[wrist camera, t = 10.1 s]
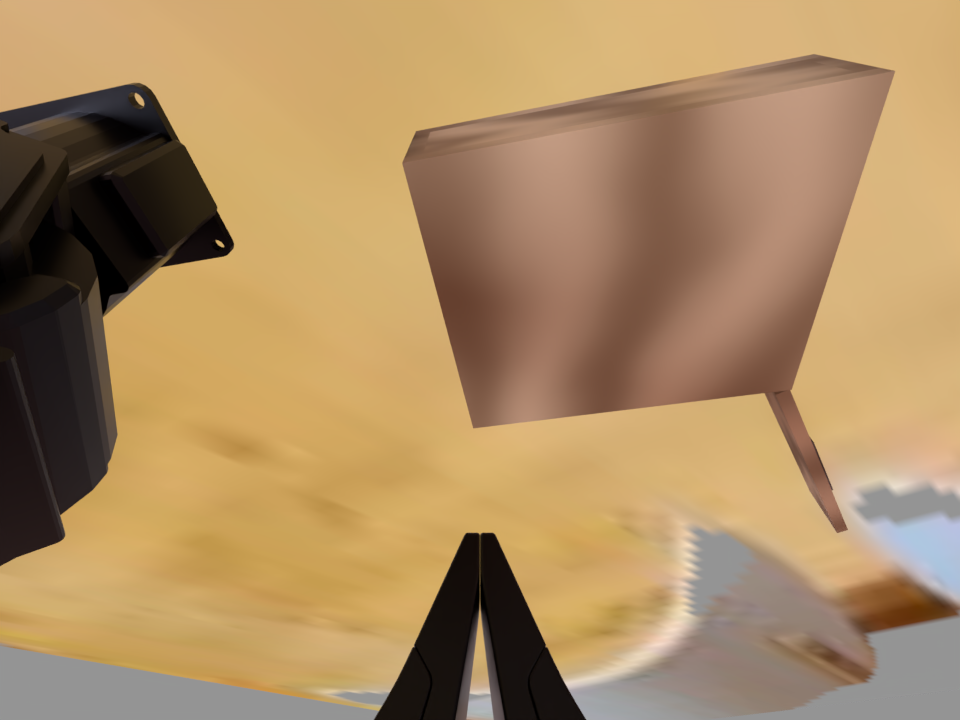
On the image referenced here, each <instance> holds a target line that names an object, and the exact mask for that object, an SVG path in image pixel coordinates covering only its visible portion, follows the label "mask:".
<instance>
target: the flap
mask: <svg viewBox="0 0 960 720" xmlns="http://www.w3.org/2000/svg"><path fill="white" fill-rule="evenodd" d="M765 396H766V398H767V400H768V402H769V404H770V406H771V408H772V411H773V413H774V415H775V417H776V419H777V421H778V424H779V426H780V428H781V430H782V432H783V434H784V437H785V439H786V441H787V443H788V445H789V447H790V450H791V452H792V454H793V456H794V458H795V460H796V463H797V465H798V467H799V469H800V471H801V473H802V476H803V478H804V480H805V482H806V484H807V486H808V488H809V491H810V492H811V494H812V495H813V497H814V498H815V500H816V502H817V503H818V505H819V506H820V508H821V509H822V511H823V512H824V514H825V515H826V517H827V518H828V520H829V522H830V523H831V525H832V526H833V528H834V529H835V531H836V532H837V533H840V532H843V531H846V530H848V529H847V526H846V524H845V521H844V519H843V517H842V514H841V512H840V509H839V507H838V504H837V502H836V500H835V497H834V495H833V492H832V490H833V488H832V485H831V483H830V481H829V478H828V476H827V473H826V471H825V468H824V466H823V463H822V461H821V459H820V456H819V454H818V451H817V449H816V446H815V444H814V442H813V440H812V439H811V438H810V436H809V434H808V432H807V429H806V427H805V425H804V422H803V420H802V417H801V415H800V413H799V410H798V408H797V405H796V403H795V400H794V398H793V396H792V393H791V391H790V390H786V391H778V392H770V393H765Z"/></svg>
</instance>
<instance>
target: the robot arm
mask: <svg viewBox="0 0 960 720" xmlns="http://www.w3.org/2000/svg"><path fill="white" fill-rule="evenodd" d="M135 93H137V94H138V95H140V96H141V97H142V99H143V101H144V106H142V105H140V104H139V103H138V102H137V101H136V98H135ZM216 240H218V241H220V242H222V243H223V245H224V247H221V246H219V245H218V244H217V243H216ZM233 248H234V242H233V239H232V237H231V235H230V234H229V232H228V230H227V228H226V226H225V224H224V222H223V221H222V219H221V217H220V215H219V213H218V211H217V205H216V203H215V201H214V199H213V197H212V196H211V194H210V192H209V190H208V188H207V186H206V184H205V182H204V181H203V179H202V177H201V175H200V173H199V171H198V169H197V167H196V166H195V164H194V162H193V160H192V158H191V156H190V154H189V152H188V151H187V149H186V147H185V145H183V144H182V143H181V142H180V141H179V139H178V137H177V135H176V133H175V131H174V129H173V127H172V126H171V124H170V122H169V120H168V118H167V116H166V114H165V113H164V111H163V109H162V107H161V105H160V103H159V101H158V100H157V98H156V96H155V94H154V93H153V92H152V90H151V89H149V88H148V87H147V86H146V85H143V84H141V83H130V84H126V85H121V86H117V87H112V88H107V89H103V90H98V91H94V92H89V93H85V94H80V95H76V96H71V97H66V98H62V99H57V100H53V101H48V102H44V103H39V104H35V105H30V106H26V107H21V108H16V109H12V110H7V111H3V112H0V566H2V565H3V564H5V563H7V562H9V561H11V560H13V559H15V558H17V557H19V556H22V555H25V554H28V553H31V552H33V551H36V550H39V549H42V548H45V547H48V546H50V545H53V544H56V543H58V542H60V541H62V540H63V539H64V537H65V530H64V527H63V523H62V520H61V516H60V515H61V514H63V513H64V512H65V511H67V510H68V509H69V508H70V507H72V506H73V505H74V504H76V503H77V502H78V501H80V500H81V499H82V498H83V497H85V496H86V495H87V494H89V493H90V492H91V491H92V490H93V489H94V488H95V487H96V486H97V485H98V483H99V482H100V481H101V480H102V479H103V477H104V476H105V475H106V474H107V472H108V463H109V461H110V460H111V457H112V453H113V450H114V446H115V443H116V439H117V435H118V433H117V425H116V417H115V410H114V402H113V394H112V386H111V378H110V370H109V362H108V354H107V346H106V338H105V331H104V323H103V317H104V316H106V315H107V314H108V313H109V312H110V311H111V310H112V309H113V308H115V307H116V306H117V305H118V304H119V303H120V302H121V301H122V300H124V299H125V298H126V297H127V296H128V295H129V294H130V293H132V292H133V291H134V290H135V289H136V288H137V287H138V286H139V285H141V284H142V283H143V282H144V281H145V280H146V279H147V278H148V277H150V276H151V275H152V274H153V273H154V272H155V271H156V270H158V269H159V268H160V267H166V266H172V265H178V264H184V263H189V262H195V261H201V260H207V259H213V258H219V257H224V256H227V255H228V254H229V253H230V252H231V251H232V250H233ZM479 610H481V620H482V628H483V636H484V645H485V653H486V661H487V669H488V677H489V686H490V694H491V702H492V710H493V718H494V720H586V718H585V717H584V715H583V713H582V712H581V710H580V708H579V707H578V705H577V703H576V702H575V700H574V698H573V696H572V695H571V693H570V691H569V689H568V688H567V686H566V684H565V682H564V680H563V678H562V676H561V674H560V672H559V670H558V668H557V666H556V664H555V662H554V660H553V658H552V656H551V654H550V652H549V649H548V648H547V647H546V644H545V641H544V639H543V637H542V635H541V633H540V630H539V628H538V626H537V624H536V622H535V620H534V617H533V615H532V613H531V611H530V609H529V607H528V604H527V602H526V600H525V598H524V596H523V593H522V591H521V589H520V587H519V585H518V583H517V580H516V578H515V576H514V574H513V572H512V569H511V567H510V565H509V563H508V561H507V559H506V556H505V554H504V552H503V550H502V548H501V546H500V543H499V541H498V539H497V537H496V535H495V534H494V533H481V534H479V533H466V534H465V535H464V537H463V539H462V541H461V543H460V546H459V548H458V550H457V552H456V554H455V556H454V559H453V561H452V563H451V565H450V567H449V569H448V572H447V574H446V576H445V578H444V580H443V583H442V585H441V587H440V589H439V591H438V593H437V596H436V598H435V600H434V602H433V604H432V607H431V609H430V611H429V613H428V615H427V617H426V620H425V622H424V624H423V626H422V628H421V630H420V633H419V635H418V637H417V639H416V641H415V644H414V647H413V648H412V649H411V652H410V654H409V656H408V658H407V660H406V662H405V664H404V666H403V668H402V670H401V672H400V674H399V676H398V678H397V680H396V682H395V684H394V686H393V688H392V689H391V691H390V693H389V695H388V696H387V698H386V700H385V702H384V703H383V705H382V707H381V708H380V710H379V712H378V713H377V715H376V717H375V718H374V720H466V718H467V710H468V702H469V694H470V686H471V677H472V669H473V661H474V653H475V645H476V636H477V628H478V620H479Z"/></svg>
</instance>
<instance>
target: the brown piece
mask: <svg viewBox="0 0 960 720" xmlns="http://www.w3.org/2000/svg"><path fill="white" fill-rule="evenodd" d="M894 74H895V71H893V70H888V69H884V68H879V67H874V66H869V65H864V64H860V63H855V62H850V61H845V60H840V59H836V58H831V57H826V56H821V55H816V54H812V55H807V56H801V57H796V58H791V59H786V60H781V61H776V62H770V63H765V64H760V65H755V66H750V67H745V68H740V69H734V70H729V71H724V72H719V73H714V74H709V75H703V76H698V77H693V78H688V79H683V80H678V81H672V82H667V83H662V84H657V85H652V86H647V87H641V88H636V89H631V90H626V91H621V92H616V93H610V94H605V95H600V96H595V97H590V98H585V99H579V100H574V101H569V102H564V103H559V104H554V105H548V106H543V107H538V108H533V109H528V110H523V111H517V112H512V113H507V114H502V115H497V116H492V117H486V118H481V119H476V120H471V121H466V122H461V123H455V124H450V125H445V126H440V127H435V128H430V129H424V130H419V131H416V132H415V134H414V137H413V139H412V141H411V144H410V146H409V148H408V151H407V153H406V155H405V157H404V160H403V162H402V165H403V168H404V172H405V176H406V179H407V183H408V187H409V191H410V194H411V198H412V202H413V206H414V209H415V213H416V217H417V221H418V224H419V228H420V232H421V235H422V239H423V243H424V247H425V250H426V254H427V258H428V262H429V265H430V269H431V273H432V277H433V280H434V284H435V288H436V291H437V295H438V299H439V303H440V306H441V310H442V314H443V318H444V321H445V325H446V329H447V332H448V336H449V340H450V344H451V347H452V351H453V355H454V359H455V362H456V366H457V370H458V374H459V377H460V381H461V385H462V388H463V392H464V396H465V400H466V403H467V407H468V411H469V415H470V418H471V422H472V426H473V428H481V427H490V426H498V425H506V424H514V423H523V422H531V421H539V420H547V419H556V418H564V417H572V416H580V415H588V414H597V413H605V412H613V411H621V410H630V409H638V408H646V407H654V406H663V405H671V404H679V403H687V402H695V401H704V400H712V399H720V398H728V397H737V396H745V395H753V394H761V393H770V392H778V391H786V390H792V388H793V384H794V381H795V378H796V375H797V372H798V369H799V366H800V363H801V360H802V357H803V354H804V351H805V348H806V344H807V341H808V338H809V335H810V332H811V329H812V326H813V323H814V320H815V317H816V314H817V311H818V307H819V304H820V301H821V298H822V295H823V292H824V289H825V286H826V283H827V280H828V277H829V274H830V271H831V267H832V264H833V261H834V258H835V255H836V252H837V249H838V246H839V243H840V240H841V237H842V234H843V231H844V227H845V224H846V221H847V218H848V215H849V212H850V209H851V206H852V203H853V200H854V197H855V194H856V191H857V187H858V184H859V181H860V178H861V175H862V172H863V169H864V166H865V163H866V160H867V157H868V154H869V150H870V147H871V144H872V141H873V138H874V135H875V132H876V129H877V126H878V123H879V120H880V117H881V114H882V110H883V107H884V104H885V101H886V98H887V95H888V92H889V89H890V86H891V83H892V80H893V77H894Z"/></svg>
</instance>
